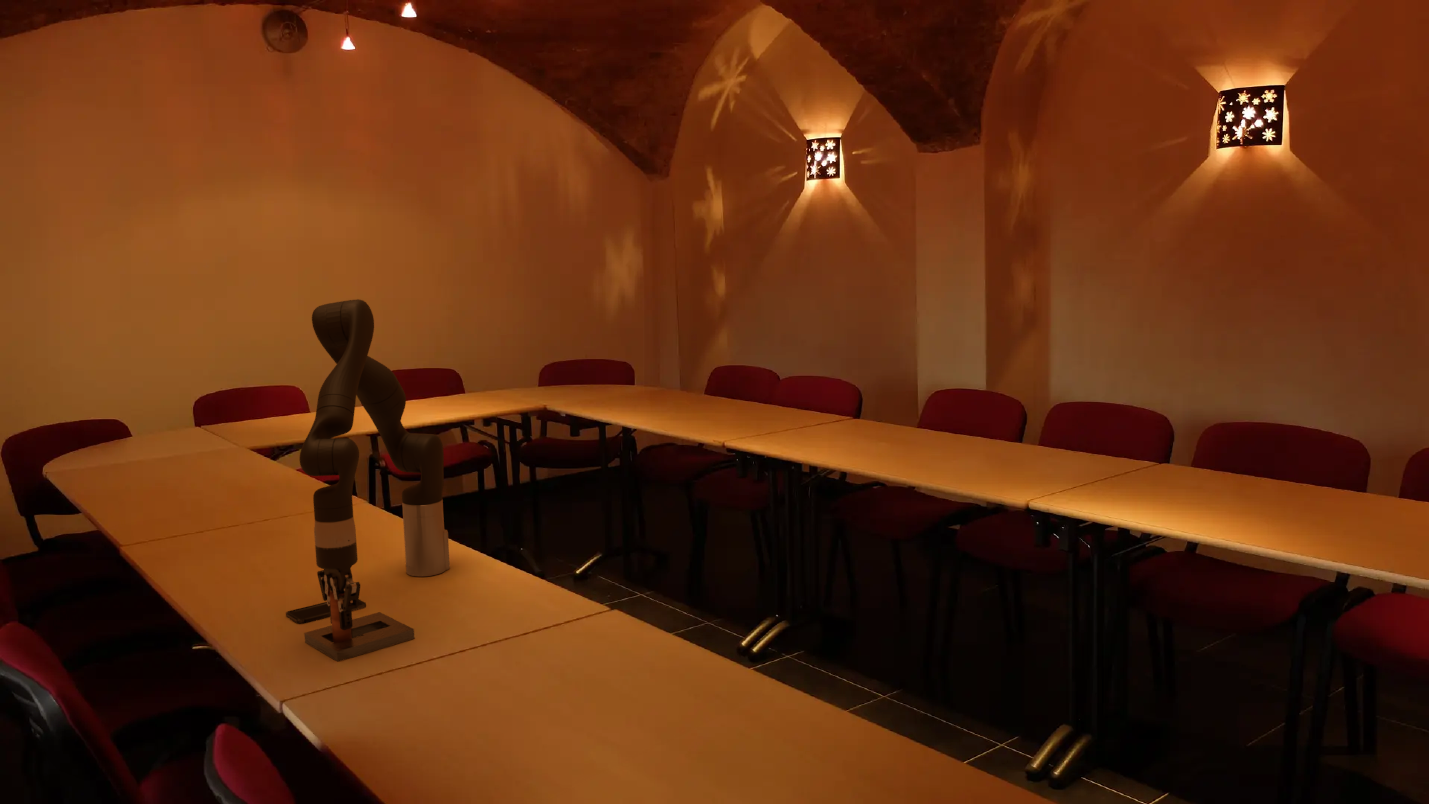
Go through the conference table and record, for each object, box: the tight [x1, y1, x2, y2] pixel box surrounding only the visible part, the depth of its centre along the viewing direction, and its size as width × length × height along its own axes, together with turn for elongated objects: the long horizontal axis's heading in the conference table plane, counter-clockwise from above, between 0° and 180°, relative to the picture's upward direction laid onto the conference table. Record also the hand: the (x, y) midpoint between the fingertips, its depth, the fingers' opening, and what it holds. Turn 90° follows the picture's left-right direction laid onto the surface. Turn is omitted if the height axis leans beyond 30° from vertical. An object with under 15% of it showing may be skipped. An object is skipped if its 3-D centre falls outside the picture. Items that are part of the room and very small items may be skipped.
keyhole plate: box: [303, 611, 415, 663], centre depth 211 cm, size 16×14×2 cm
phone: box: [285, 598, 367, 625], centre depth 228 cm, size 8×1×15 cm
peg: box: [330, 591, 353, 644], centre depth 208 cm, size 4×4×10 cm
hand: (341, 625), depth 208 cm, fingers closed on peg, 3 cm apart
